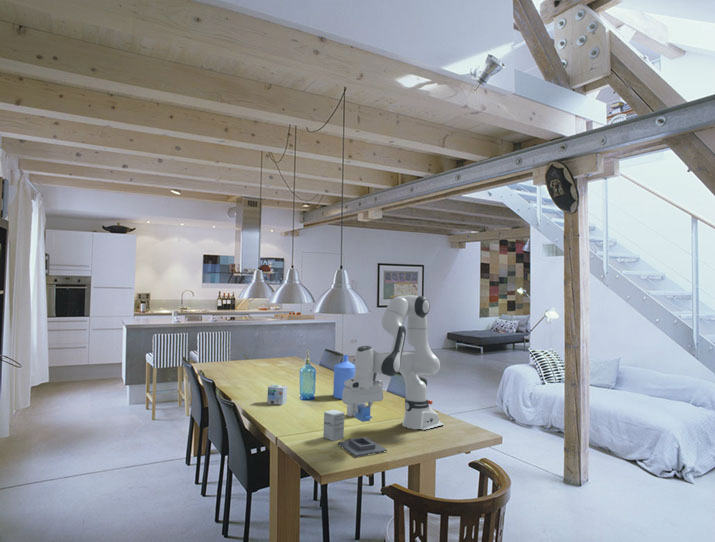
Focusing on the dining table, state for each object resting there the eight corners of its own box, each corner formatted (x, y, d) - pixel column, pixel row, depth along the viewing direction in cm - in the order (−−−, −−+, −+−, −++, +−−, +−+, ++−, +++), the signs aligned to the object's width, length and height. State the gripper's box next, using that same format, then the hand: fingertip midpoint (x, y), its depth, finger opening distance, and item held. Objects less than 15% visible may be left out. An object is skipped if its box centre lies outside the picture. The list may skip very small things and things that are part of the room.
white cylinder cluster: (362, 412, 265) (363, 378, 266) (368, 416, 259) (369, 381, 260) (345, 414, 260) (346, 380, 261) (350, 418, 254) (351, 382, 255)
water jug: (355, 400, 295) (357, 357, 296) (332, 399, 295) (333, 356, 296) (356, 394, 310) (357, 353, 311) (333, 393, 311) (335, 353, 312)
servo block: (360, 415, 213) (360, 400, 213) (372, 422, 203) (373, 406, 203) (352, 416, 211) (353, 401, 212) (365, 423, 201) (365, 407, 201)
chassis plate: (367, 439, 218) (367, 433, 218) (387, 452, 202) (387, 445, 202) (337, 444, 211) (337, 438, 211) (355, 457, 195) (355, 450, 195)
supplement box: (322, 437, 220) (323, 411, 220) (334, 434, 225) (334, 409, 225) (332, 441, 214) (333, 414, 215) (344, 438, 219) (344, 412, 220)
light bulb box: (266, 404, 280) (267, 386, 280) (271, 401, 286) (271, 384, 286) (282, 405, 277) (283, 387, 277) (287, 402, 284) (287, 385, 284)
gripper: (379, 379, 215) (378, 408, 215) (341, 382, 206) (340, 412, 205) (386, 381, 210) (385, 411, 209) (347, 384, 200) (346, 416, 200)
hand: (362, 412), depth 207 cm, fingers closed on servo block, 4 cm apart
